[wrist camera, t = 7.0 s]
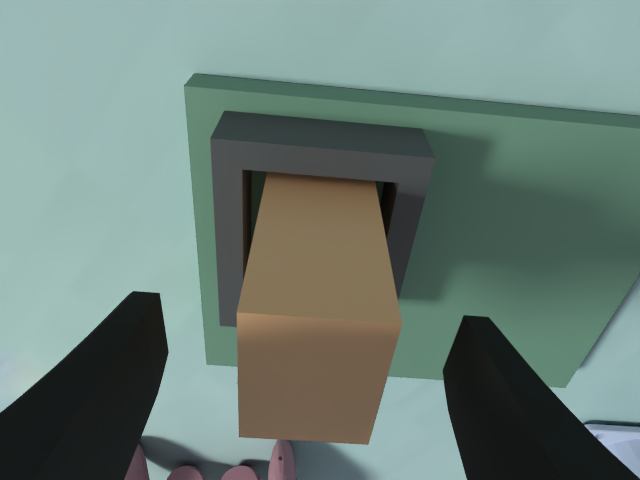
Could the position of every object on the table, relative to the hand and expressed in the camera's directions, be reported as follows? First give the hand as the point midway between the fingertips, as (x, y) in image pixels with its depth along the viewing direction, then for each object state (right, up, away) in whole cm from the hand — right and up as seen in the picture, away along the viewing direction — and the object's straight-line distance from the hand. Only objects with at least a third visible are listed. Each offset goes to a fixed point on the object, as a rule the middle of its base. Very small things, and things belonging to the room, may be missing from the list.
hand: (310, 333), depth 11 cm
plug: (0, +3, +4) cm, 5 cm away
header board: (+4, +2, +7) cm, 8 cm away
